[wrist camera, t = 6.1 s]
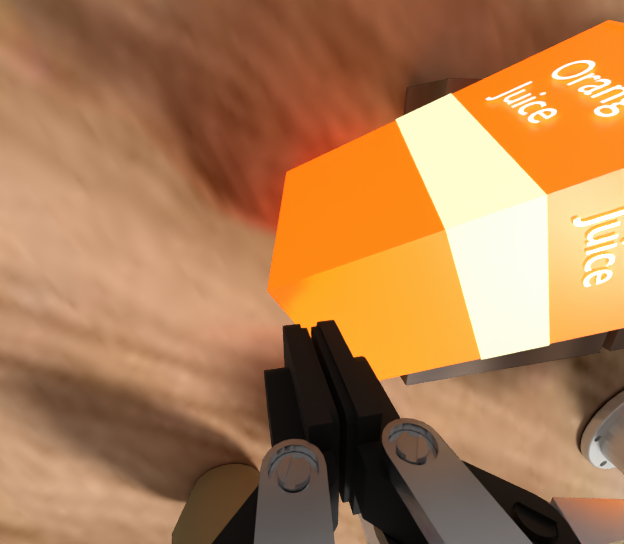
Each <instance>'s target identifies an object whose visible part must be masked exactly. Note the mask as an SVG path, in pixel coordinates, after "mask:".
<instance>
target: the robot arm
mask: <svg viewBox="0 0 624 544" xmlns="http://www.w3.org/2000/svg"><path fill="white" fill-rule="evenodd" d="M283 343H284V361H285V368H278V369H271V370H264V378H265V389H266V400H267V410H268V419H269V428H270V437H271V445H272V448H271V449H270V450H269V451H268V452H267V454H266V455H265V457H264V459H263V461H262V464H261V468H260V478H259V485H258V486H257V487H256V489H255V490H254V491H253V492H252V494H251V495H250V496H249V497H248V499H247V500H246V501H245V502H244V504H243V505H242V506H241V507H240V509H239V510H238V511H237V512H236V514H235V515H234V516H233V517H232V519H231V520H230V521H229V522H228V524H227V525H226V526H225V527H224V529H223V530H222V531H221V532H220V534H219V535H218V536H217V537H216V539H215V540H214V541H213V542H212V544H335V542H334V531H335V529H336V527H337V525H338V503H339V493H340V496H341V499H342V502H343V503H344V502H348V501H349V503H350V506H351V509H352V513H353V515H355V514H359V513H361V515H362V518H363V519H364V520H366V521H367V522H369V523H371V524H372V525H373V526H374V531H375V534H376V537H377V539H378V541H379V543H380V544H624V499H596V498H560V497H553V498H552V500H551V502H547V501H545V500H544V499H542V498H540V497H538V496H537V495H535V494H533V493H531V492H529V491H527V490H524V489H522V488H520V487H518V486H516V485H514V484H512V483H509V482H507V481H505V480H503V479H501V478H499V477H497V476H494V475H492V474H490V473H488V472H486V471H484V470H482V469H479V468H477V467H475V466H473V465H471V464H469V463H466V462H464V461H462V460H460V458H459V457H458V456H457V455H456V454H455V453H454V451H453V450H452V449H451V448H450V447H449V446H448V444H447V443H446V442H445V441H444V440H443V439H442V437H441V436H440V435H439V434H438V433H437V432H436V431H435V430H434V429H433V428H432V427H430V426H429V425H427V424H425V423H424V422H422V421H418V420H415V419H410V418H401V419H400V417H399V415H398V413H397V412H396V410H395V408H394V406H393V405H392V403H391V401H390V399H389V398H388V396H387V394H386V392H385V391H384V389H383V387H382V385H381V384H380V382H379V380H378V378H377V377H376V375H375V373H374V371H373V369H372V368H371V366H370V364H369V362H368V361H367V359H366V358H365V357H364V356H359V357H353V355H352V353H351V351H350V349H349V347H348V345H347V343H346V342H345V340H344V338H343V336H342V334H341V332H340V330H339V328H338V326H337V324H336V322H335V321H334V320H327V321H318V322H317V324H316V326H314V327H311V337H310V334H309V332H308V329H307V327H306V328H301V325H300V324H294V325H286V326H283ZM581 452H582V455H583V456H584V457H585V458H586V459H587V460H588V461H589V462H590V463H591V464H592V465H593V466H595V467H597V468H603V469H610V468H617V469H618V470H620V471H621V472H622V473H623V474H624V391H622V392H621V393H619V394H617V395H616V396H615V397H614V398H612V399H611V400H610V401H608V402H607V403H606V404H605V405H604V406H603V407H602V408H601V409H600V410H599V411H598V412H597V413H596V415H595V416H594V417H593V418H592V419H591V421H590V422H589V424H588V425H587V427H586V429H585V431H584V433H583V436H582V439H581Z"/></svg>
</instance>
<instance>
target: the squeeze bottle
mask: <svg viewBox="0 0 624 544" xmlns="http://www.w3.org/2000/svg"><path fill="white" fill-rule="evenodd" d="M259 478H260V472H259V471H257V470H256V469H254V468H253V467H251V466H247V465H242V464H229V465H223V466H220V467H217V468H214V469H211V470H209V471H208V472H207V473H205V474H204V475H203V476H201V477H200V478H199V479H198V481H197V482H196V484H195V485H194V487H193V489H192V491H191V493H190V496H189V498H188V500H187V502H186V504H185V507H184V509H183V511H182V513H181V515H180V517H179V520H178V522H177V524H176V526H175V528H174V531H173V533H172V544H212V542H213V541H214V540H215V539H216V537H217V536H218V535H219V534H220V532H221V531H222V530H223V529H224V527H225V526H226V525H227V524H228V522H229V521H230V520H231V519H232V517H233V516H234V515H235V514H236V512H237V511H238V510H239V509H240V507H241V506H242V505H243V504H244V502H245V501H246V500H247V499H248V497H249V496H250V495H251V494H252V492H253V491H254V490H255V489H256V487H257V486H258V485H259Z"/></svg>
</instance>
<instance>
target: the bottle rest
mask: <svg viewBox="0 0 624 544" xmlns="http://www.w3.org/2000/svg"><path fill="white" fill-rule="evenodd" d="M480 80H483V79H459V78H447V79H443V80H438V81H434V82H430V83H426V84H421V85H417V86H413V87H409V88H407V93H406V104H405V114H404V115H406V114H408V113H410V112H412V111H414V110H416V109H418V108H421V107H423V106H425V105H427V104H429V103H431V102H433V101H435V100H438V99H440V98H442V97H444V96H446V95H448V94H450V93H451V94H453V93H455V92H457V91H459V90H461V89H464V88H466V87H468V86H470V85H472V84H474V83H476V82H478V81H480ZM601 347H604V348H606V349H607V350H609V351H612V350H618V349H624V328H621V329H616V330H611V331H607V332H602V333H597V334H593V335H588V336H583V337H579V338H574V339H569V340H565V341H560V342H555V343H551V344H550V345H548V346H544V347H539V348H534V349H530V350H525V351H520V352H516V353H511V354H506V355H501V356H497V357H492V358H487V359H483V360H481V359H476V360H471V361H467V362H462V363H457V364H453V365H448V366H443V367H439V368H434V369H429V370H425V371H420V372H415V373H411V374H406V375H401V376H400V377H401V378H402V380H403V381H404V383H405V384H406V385H412V384H418V383H424V382H430V381H436V380H441V379H447V378H453V377H459V376H465V375H471V374H477V373H483V372H489V371H495V370H500V369H506V368H512V367H518V366H524V365H530V364H536V363H542V362H548V361H553V360H559V359H565V358H571V357H577V356H583V355H589V354H595V353H599V352H600V350H601Z"/></svg>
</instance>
